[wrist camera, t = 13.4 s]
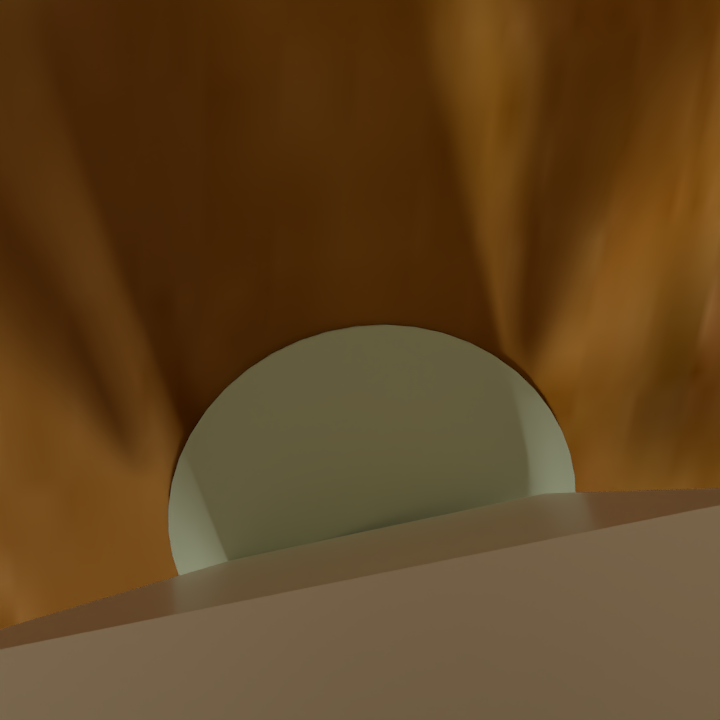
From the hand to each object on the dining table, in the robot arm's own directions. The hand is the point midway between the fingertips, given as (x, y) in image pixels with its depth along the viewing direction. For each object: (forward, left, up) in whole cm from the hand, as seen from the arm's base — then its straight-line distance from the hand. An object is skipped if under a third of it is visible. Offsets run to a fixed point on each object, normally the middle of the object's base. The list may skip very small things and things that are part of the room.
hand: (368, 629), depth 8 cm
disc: (-1, 0, -3) cm, 3 cm away
